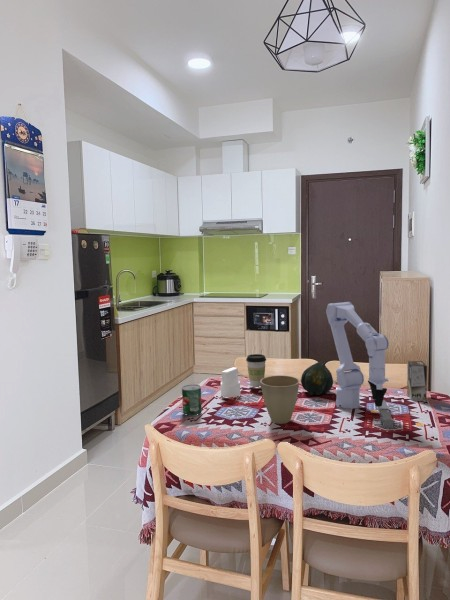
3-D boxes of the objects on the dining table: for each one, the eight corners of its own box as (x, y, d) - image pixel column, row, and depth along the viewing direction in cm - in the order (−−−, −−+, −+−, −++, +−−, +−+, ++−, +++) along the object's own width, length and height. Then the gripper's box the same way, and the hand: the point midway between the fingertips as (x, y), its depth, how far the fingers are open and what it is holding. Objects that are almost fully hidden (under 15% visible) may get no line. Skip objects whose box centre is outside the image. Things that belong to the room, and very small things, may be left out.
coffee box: (427, 403, 191) (427, 366, 189) (410, 403, 192) (410, 365, 191) (422, 396, 200) (422, 360, 198) (406, 396, 201) (406, 360, 200)
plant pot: (254, 417, 182) (253, 378, 181) (287, 411, 188) (286, 373, 186) (273, 430, 169) (272, 388, 167) (307, 423, 174) (306, 382, 173)
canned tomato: (178, 413, 190) (177, 387, 189) (192, 408, 196) (191, 383, 195) (192, 417, 185) (190, 391, 184) (205, 412, 190) (204, 386, 189)
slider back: (380, 416, 176) (380, 408, 175) (377, 407, 185) (377, 400, 185) (388, 416, 175) (388, 408, 175) (385, 407, 185) (385, 400, 184)
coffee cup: (245, 389, 220) (244, 358, 219) (248, 383, 230) (247, 353, 229) (266, 389, 219) (265, 358, 217) (267, 383, 228) (266, 353, 227)
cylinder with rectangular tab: (228, 391, 218) (227, 366, 217) (244, 393, 213) (243, 368, 212) (217, 396, 211) (216, 370, 210) (233, 399, 206) (232, 373, 205)
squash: (292, 384, 207) (313, 360, 203) (298, 376, 221) (319, 354, 217) (315, 406, 204) (338, 383, 200) (321, 397, 218) (342, 375, 214)
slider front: (383, 427, 164) (383, 419, 164) (380, 417, 174) (380, 410, 173) (392, 428, 163) (392, 420, 163) (389, 418, 173) (389, 410, 173)
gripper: (391, 372, 163) (391, 409, 165) (385, 362, 178) (385, 396, 179) (370, 372, 165) (370, 408, 166) (366, 362, 179) (366, 396, 180)
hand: (377, 402), depth 173 cm, fingers open, 7 cm apart
